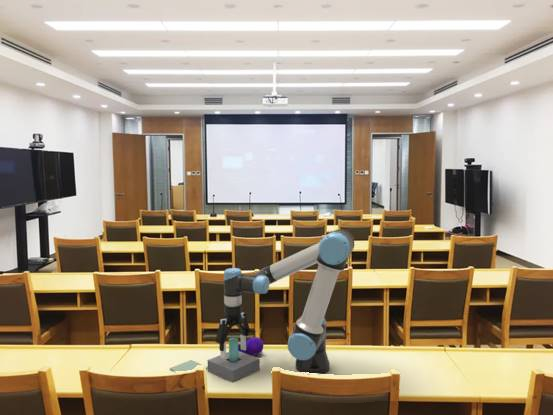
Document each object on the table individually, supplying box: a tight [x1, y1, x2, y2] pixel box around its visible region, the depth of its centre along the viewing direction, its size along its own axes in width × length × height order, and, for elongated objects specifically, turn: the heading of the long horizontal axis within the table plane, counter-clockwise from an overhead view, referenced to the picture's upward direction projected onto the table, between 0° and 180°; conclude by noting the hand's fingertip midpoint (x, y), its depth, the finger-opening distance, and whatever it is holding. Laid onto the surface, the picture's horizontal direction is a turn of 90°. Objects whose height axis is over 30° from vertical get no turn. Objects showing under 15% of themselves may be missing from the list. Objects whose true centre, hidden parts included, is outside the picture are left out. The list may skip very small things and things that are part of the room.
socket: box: [207, 351, 261, 383], centre depth 205 cm, size 16×16×5 cm
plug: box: [228, 337, 239, 363], centre depth 205 cm, size 4×4×14 cm
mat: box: [169, 359, 208, 372], centre depth 207 cm, size 12×12×1 cm
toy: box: [238, 336, 264, 357], centre depth 222 cm, size 9×10×15 cm
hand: (233, 353), depth 205 cm, fingers open, 11 cm apart
